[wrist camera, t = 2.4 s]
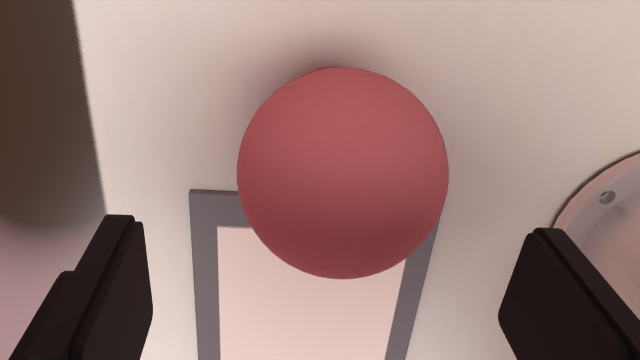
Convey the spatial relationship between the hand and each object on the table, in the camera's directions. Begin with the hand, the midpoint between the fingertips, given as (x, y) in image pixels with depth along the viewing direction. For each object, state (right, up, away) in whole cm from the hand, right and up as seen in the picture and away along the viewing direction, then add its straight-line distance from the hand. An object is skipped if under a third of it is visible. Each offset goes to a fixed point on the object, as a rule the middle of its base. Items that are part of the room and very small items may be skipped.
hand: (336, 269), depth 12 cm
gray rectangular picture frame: (-1, -7, +20) cm, 21 cm away
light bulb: (0, +7, +12) cm, 14 cm away
